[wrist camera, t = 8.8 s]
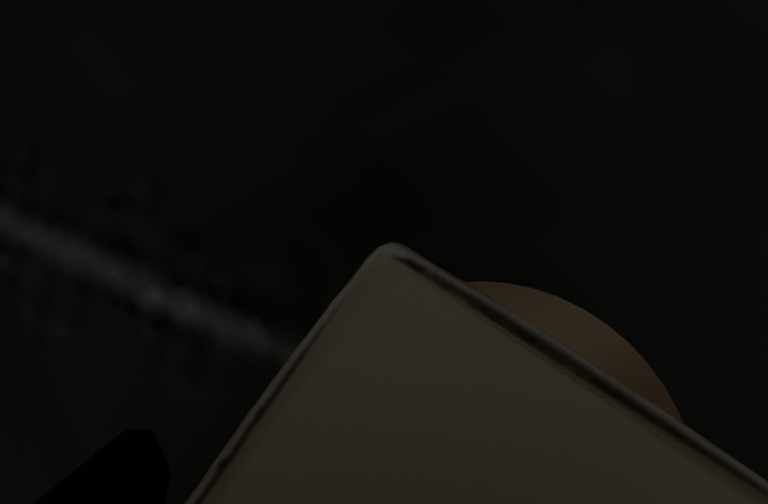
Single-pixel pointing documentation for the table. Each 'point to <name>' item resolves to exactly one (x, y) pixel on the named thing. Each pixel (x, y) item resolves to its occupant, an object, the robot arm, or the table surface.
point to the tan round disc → (583, 337)
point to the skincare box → (456, 412)
